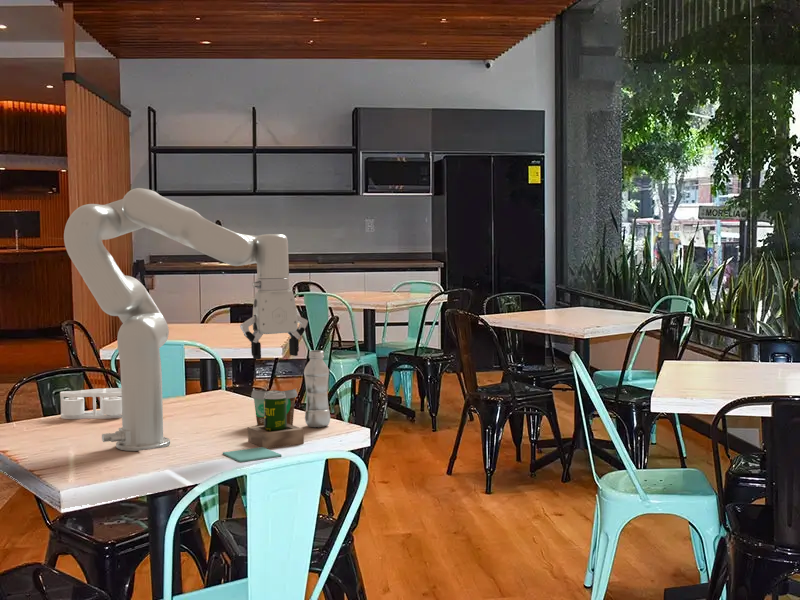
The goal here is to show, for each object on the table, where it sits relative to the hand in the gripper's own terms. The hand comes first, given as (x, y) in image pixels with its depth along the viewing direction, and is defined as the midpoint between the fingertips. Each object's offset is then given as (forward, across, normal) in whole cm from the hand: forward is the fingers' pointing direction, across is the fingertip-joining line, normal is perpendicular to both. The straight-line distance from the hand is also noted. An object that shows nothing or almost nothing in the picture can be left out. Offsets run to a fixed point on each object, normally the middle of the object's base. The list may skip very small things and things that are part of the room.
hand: (275, 357), depth 231 cm
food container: (+21, +6, +17) cm, 28 cm away
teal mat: (+21, -11, -9) cm, 25 cm away
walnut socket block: (+21, 0, 0) cm, 21 cm away
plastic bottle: (+21, +17, +11) cm, 29 cm away
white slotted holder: (+20, -26, +61) cm, 69 cm away
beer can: (+21, 0, 0) cm, 21 cm away
